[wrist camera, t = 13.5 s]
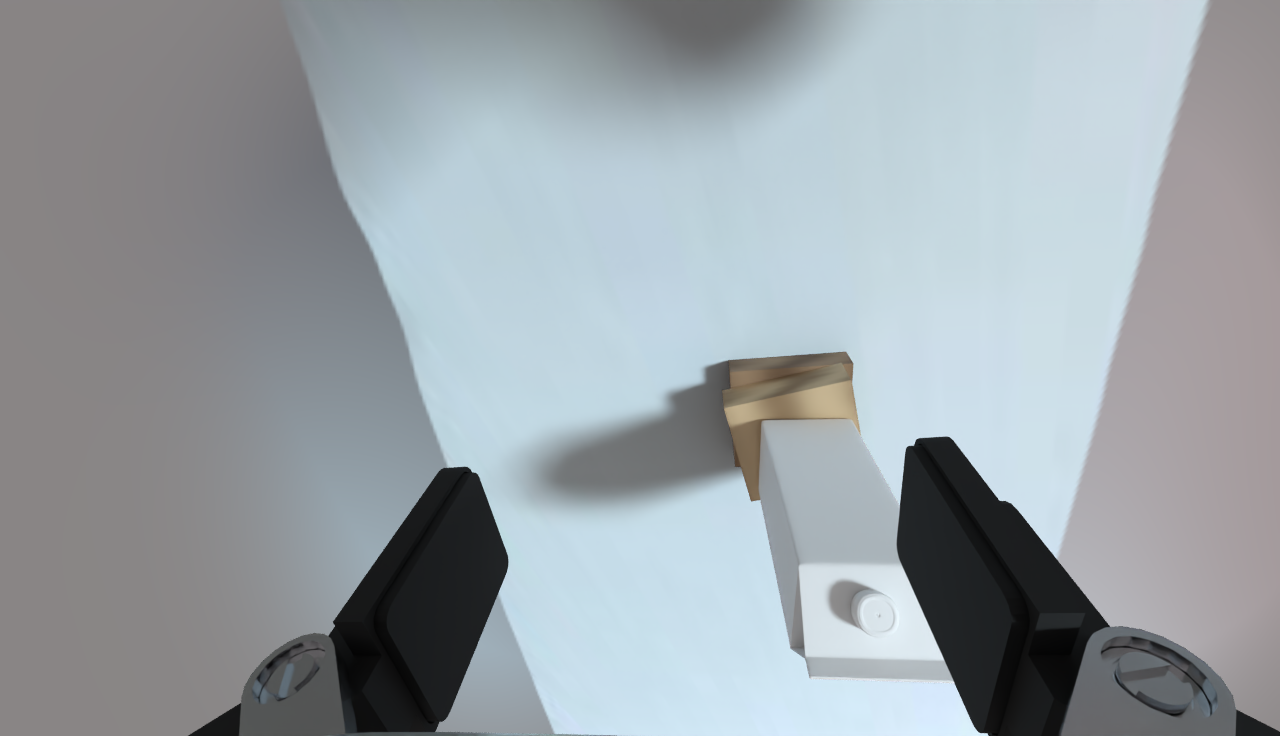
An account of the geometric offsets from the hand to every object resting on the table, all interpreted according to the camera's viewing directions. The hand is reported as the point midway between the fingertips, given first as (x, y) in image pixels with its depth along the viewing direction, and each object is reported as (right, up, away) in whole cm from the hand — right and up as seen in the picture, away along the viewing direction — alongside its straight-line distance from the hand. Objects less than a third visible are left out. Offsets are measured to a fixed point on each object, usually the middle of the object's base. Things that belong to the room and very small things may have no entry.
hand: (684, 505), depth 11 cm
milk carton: (+13, -4, +31) cm, 34 cm away
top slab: (+12, -2, +34) cm, 36 cm away
